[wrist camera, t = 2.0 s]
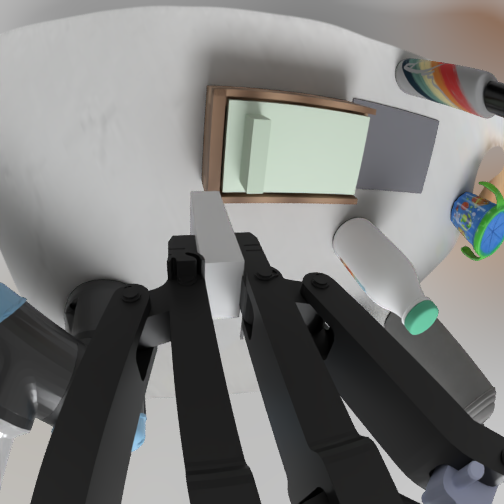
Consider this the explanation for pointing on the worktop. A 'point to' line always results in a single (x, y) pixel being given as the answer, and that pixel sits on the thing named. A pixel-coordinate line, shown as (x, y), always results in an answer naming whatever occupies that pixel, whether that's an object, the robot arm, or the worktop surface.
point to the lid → (291, 148)
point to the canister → (447, 366)
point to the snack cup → (480, 222)
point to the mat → (396, 150)
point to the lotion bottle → (452, 86)
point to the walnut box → (216, 133)
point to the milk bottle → (384, 273)
